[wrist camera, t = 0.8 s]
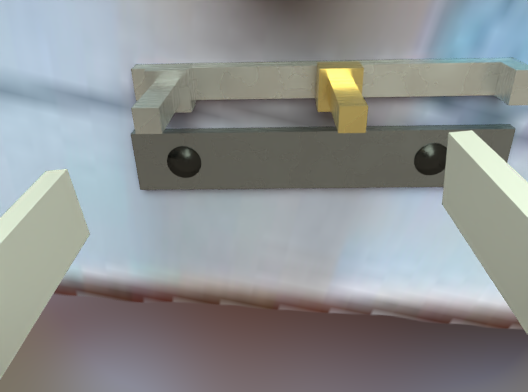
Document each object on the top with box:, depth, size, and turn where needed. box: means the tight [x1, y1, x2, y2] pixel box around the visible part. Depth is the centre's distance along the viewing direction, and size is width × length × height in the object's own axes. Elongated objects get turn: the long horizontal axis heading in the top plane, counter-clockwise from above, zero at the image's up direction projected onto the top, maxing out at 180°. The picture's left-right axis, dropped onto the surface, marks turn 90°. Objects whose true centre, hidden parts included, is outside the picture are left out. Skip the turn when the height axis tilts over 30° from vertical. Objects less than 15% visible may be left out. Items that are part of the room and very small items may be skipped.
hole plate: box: [131, 124, 515, 190], centre depth 37 cm, size 30×5×1 cm, turn 91°
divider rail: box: [131, 57, 528, 134], centre depth 31 cm, size 28×3×9 cm, turn 91°
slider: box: [316, 61, 368, 133], centre depth 30 cm, size 3×3×8 cm
